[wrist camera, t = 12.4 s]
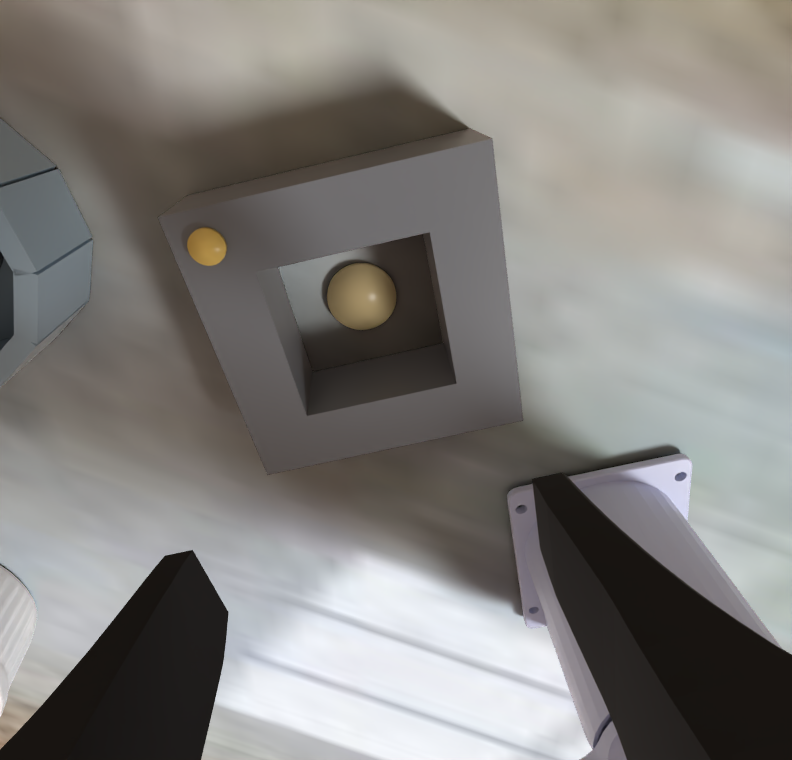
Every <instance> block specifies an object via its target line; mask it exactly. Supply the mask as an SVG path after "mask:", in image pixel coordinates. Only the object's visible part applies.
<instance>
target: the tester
mask: <svg viewBox="0 0 792 760" xmlns="http://www.w3.org/2000/svg"><path fill="white" fill-rule="evenodd" d="M158 220H159V222H160V225H161V227H162V229H163V232H164V234H165V236H166V239H167V241H168V243H169V246H170V248H171V250H172V253H173V255H174V257H175V260H176V262H177V264H178V267H179V269H180V271H181V274H182V276H183V278H184V281H185V283H186V285H187V288H188V290H189V292H190V295H191V297H192V299H193V302H194V304H195V306H196V309H197V311H198V313H199V316H200V318H201V320H202V323H203V325H204V327H205V330H206V332H207V334H208V337H209V339H210V341H211V344H212V346H213V348H214V351H215V353H216V355H217V358H218V360H219V362H220V365H221V367H222V369H223V372H224V374H225V376H226V379H227V381H228V383H229V386H230V388H231V391H232V393H233V395H234V398H235V400H236V402H237V405H238V407H239V409H240V412H241V414H242V416H243V419H244V421H245V423H246V426H247V428H248V430H249V433H250V435H251V437H252V440H253V442H254V444H255V447H256V449H257V451H258V454H259V456H260V458H261V461H262V463H263V465H264V468H265V470H266V472H267V475H270V474H274V473H279V472H284V471H288V470H293V469H298V468H302V467H307V466H312V465H317V464H321V463H326V462H331V461H335V460H340V459H345V458H349V457H354V456H359V455H364V454H368V453H373V452H378V451H382V450H387V449H392V448H396V447H401V446H406V445H411V444H415V443H420V442H425V441H429V440H434V439H439V438H443V437H448V436H453V435H458V434H462V433H467V432H472V431H476V430H481V429H486V428H491V427H495V426H500V425H505V424H509V423H514V422H519V421H523V414H522V405H521V396H520V387H519V377H518V368H517V359H516V350H515V341H514V332H513V323H512V314H511V304H510V295H509V286H508V277H507V268H506V259H505V250H504V241H503V232H502V222H501V213H500V204H499V195H498V186H497V177H496V168H495V159H494V149H493V140H492V138H490V137H488V136H486V135H483V134H481V133H479V132H477V131H475V130H473V129H471V128H469V129H465V130H461V131H457V132H452V133H448V134H444V135H440V136H436V137H431V138H427V139H423V140H419V141H414V142H410V143H406V144H402V145H398V146H393V147H389V148H385V149H381V150H376V151H372V152H368V153H364V154H360V155H355V156H351V157H347V158H343V159H338V160H334V161H330V162H326V163H322V164H317V165H313V166H309V167H305V168H300V169H296V170H292V171H288V172H284V173H279V174H275V175H271V176H267V177H262V178H258V179H254V180H250V181H246V182H241V183H237V184H233V185H229V186H224V187H220V188H216V189H212V190H208V191H203V192H199V193H195V194H191V195H187V196H186V197H185V198H183V199H182V200H180V201H179V202H178V203H176V204H175V205H174V206H172V207H171V208H170V209H168V210H167V211H166V212H164V213H163V214H162V215H160V216H159V217H158ZM420 234H423V237H424V242H425V247H426V253H427V258H428V264H429V269H430V274H431V280H432V285H433V291H434V296H435V302H436V307H437V312H438V318H439V323H440V329H441V334H442V339H443V344H438V345H433V346H429V347H424V348H420V349H415V350H411V351H406V352H402V353H397V354H393V355H388V356H383V357H379V358H374V359H370V360H365V361H361V362H356V363H352V364H347V365H343V366H338V367H334V368H329V369H324V370H320V371H315V372H313V371H312V368H311V365H310V362H309V359H308V356H307V353H306V350H305V347H304V344H303V341H302V338H301V335H300V332H299V329H298V326H297V323H296V320H295V317H294V314H293V311H292V308H291V305H290V302H289V299H288V296H287V293H286V290H285V287H284V284H283V281H282V278H281V275H280V272H279V269H278V267H280V266H285V265H289V264H293V263H298V262H302V261H306V260H311V259H315V258H320V257H324V256H328V255H333V254H337V253H341V252H346V251H350V250H354V249H359V248H363V247H367V246H372V245H376V244H381V243H385V242H389V241H394V240H398V239H402V238H407V237H411V236H415V235H420ZM327 302H328V306H329V309H330V311H331V313H332V315H333V316H334V317H335V318H336V319H337V320H338V321H339V322H340V323H341V324H343V325H345V326H347V327H349V328H352V329H357V330H367V329H372V328H375V327H377V326H379V325H381V324H382V323H384V322H385V321H386V320H387V319H388V318H389V317H390V315H391V314H392V312H393V310H394V308H395V304H396V290H395V286H394V283H393V281H392V279H391V278H390V276H389V275H388V274H387V273H386V272H385V271H384V270H382V269H381V268H379V267H377V266H375V265H373V264H369V263H354V264H350V265H348V266H345V267H344V268H342V269H341V270H339V271H338V272H337V273H336V274H335V275H334V277H333V278H332V280H331V281H330V284H329V287H328V291H327Z"/></svg>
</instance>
